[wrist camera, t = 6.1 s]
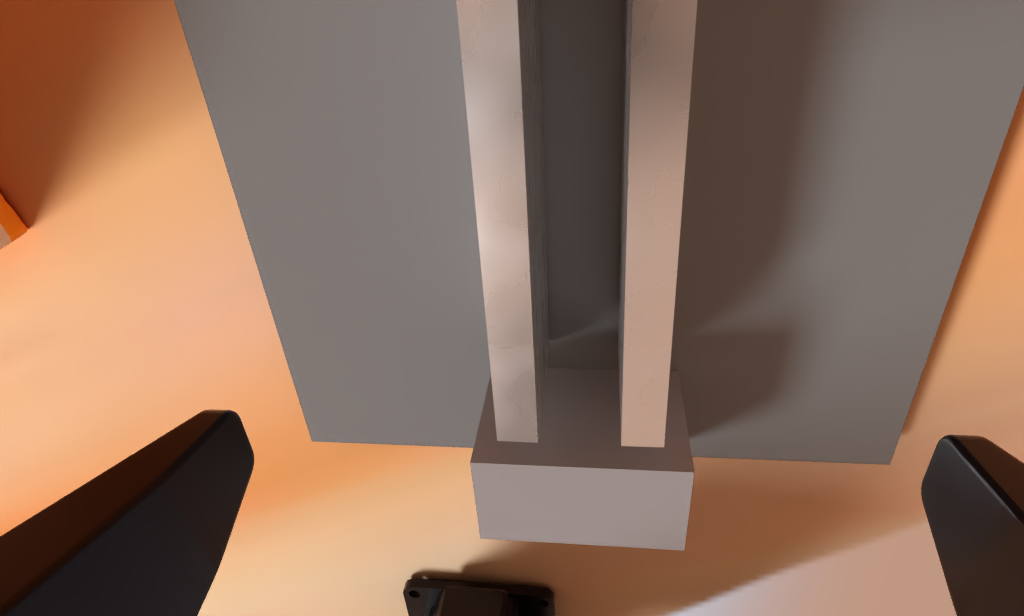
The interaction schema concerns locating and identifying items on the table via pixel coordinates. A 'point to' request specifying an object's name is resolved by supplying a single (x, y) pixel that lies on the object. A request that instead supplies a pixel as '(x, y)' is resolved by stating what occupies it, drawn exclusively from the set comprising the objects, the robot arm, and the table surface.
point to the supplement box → (9, 224)
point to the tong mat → (614, 232)
